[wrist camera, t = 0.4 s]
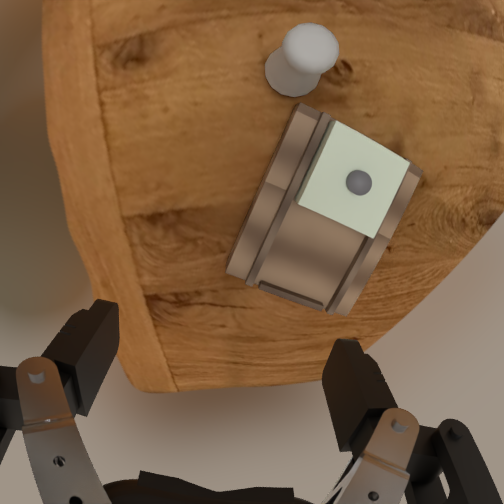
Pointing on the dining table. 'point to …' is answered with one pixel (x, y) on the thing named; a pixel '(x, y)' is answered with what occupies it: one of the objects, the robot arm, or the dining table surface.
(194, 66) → the dining table surface
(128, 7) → the dining table surface
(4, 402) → the robot arm
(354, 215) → the cover
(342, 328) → the dining table surface
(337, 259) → the board
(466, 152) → the dining table surface
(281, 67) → the salt shaker
